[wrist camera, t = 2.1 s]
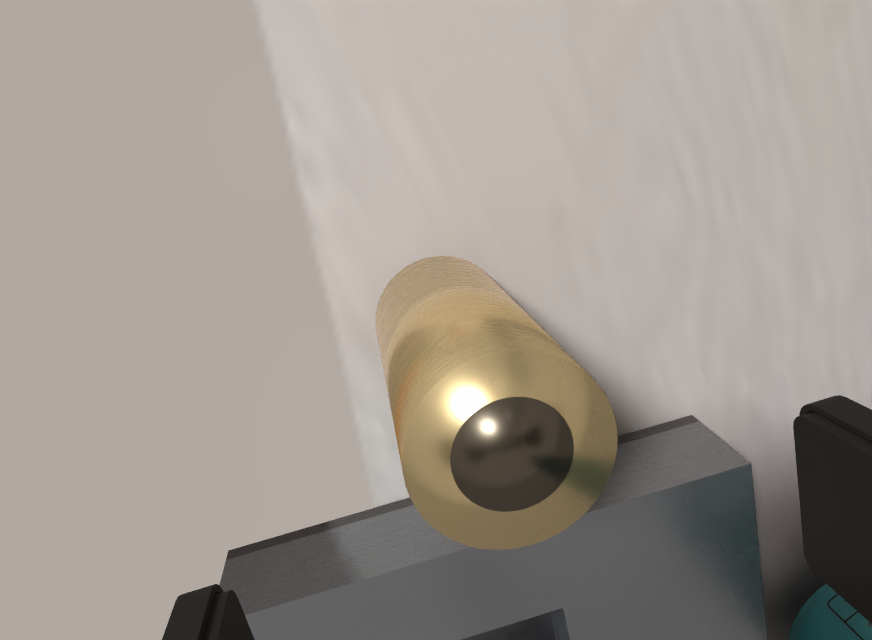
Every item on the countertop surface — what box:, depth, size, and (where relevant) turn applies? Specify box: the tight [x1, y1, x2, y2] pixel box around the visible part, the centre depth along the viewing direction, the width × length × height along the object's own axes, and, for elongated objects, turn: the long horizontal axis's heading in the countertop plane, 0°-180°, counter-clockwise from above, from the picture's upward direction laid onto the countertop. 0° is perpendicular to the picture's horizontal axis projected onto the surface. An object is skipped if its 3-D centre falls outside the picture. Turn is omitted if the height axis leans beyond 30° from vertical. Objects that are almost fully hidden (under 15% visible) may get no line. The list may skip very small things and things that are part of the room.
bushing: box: [376, 256, 618, 550], centre depth 16 cm, size 4×4×9 cm
